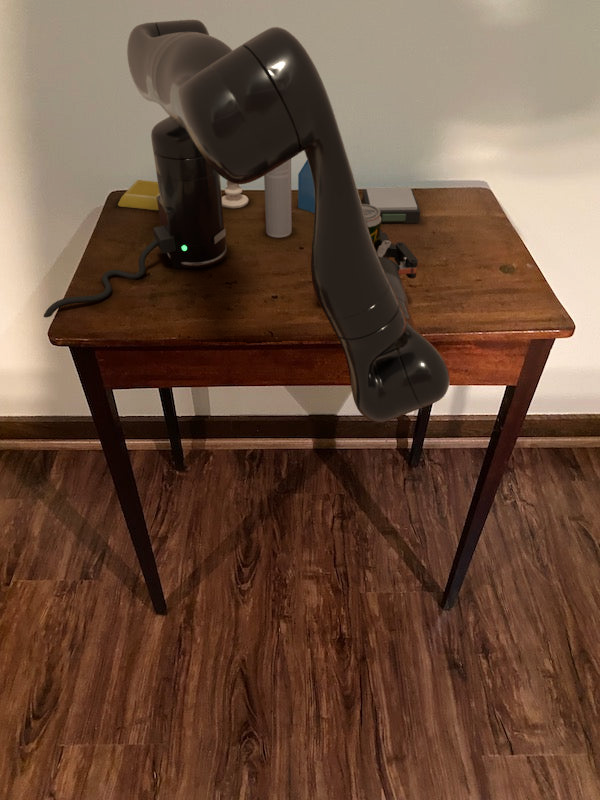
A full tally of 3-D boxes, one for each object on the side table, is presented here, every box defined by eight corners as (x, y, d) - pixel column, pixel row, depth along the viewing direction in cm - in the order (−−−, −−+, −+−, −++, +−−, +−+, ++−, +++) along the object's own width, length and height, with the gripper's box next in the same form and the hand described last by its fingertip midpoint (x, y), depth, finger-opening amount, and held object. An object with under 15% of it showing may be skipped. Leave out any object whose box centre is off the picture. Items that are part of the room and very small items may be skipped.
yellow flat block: (114, 195, 119) (116, 206, 120) (160, 200, 117) (162, 211, 119) (133, 175, 125) (135, 186, 126) (177, 180, 124) (178, 190, 125)
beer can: (335, 293, 98) (339, 217, 90) (344, 275, 102) (347, 201, 94) (371, 299, 97) (378, 222, 89) (378, 280, 101) (385, 205, 93)
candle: (243, 209, 119) (240, 152, 112) (216, 207, 120) (211, 149, 113) (252, 197, 123) (249, 141, 116) (225, 194, 124) (220, 138, 117)
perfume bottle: (326, 217, 117) (328, 148, 109) (298, 207, 120) (298, 140, 112) (346, 204, 121) (349, 137, 113) (318, 196, 123) (319, 130, 116)
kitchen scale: (367, 224, 115) (368, 209, 113) (362, 201, 122) (363, 186, 120) (419, 224, 115) (421, 209, 113) (411, 200, 122) (412, 186, 120)
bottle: (297, 231, 113) (296, 109, 99) (278, 240, 110) (275, 116, 97) (279, 223, 115) (276, 102, 102) (260, 232, 113) (255, 109, 99)
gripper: (435, 271, 82) (409, 210, 95) (319, 275, 81) (308, 213, 94) (427, 321, 87) (403, 257, 100) (318, 325, 86) (308, 260, 99)
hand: (357, 236), depth 97 cm, fingers closed on beer can, 5 cm apart
